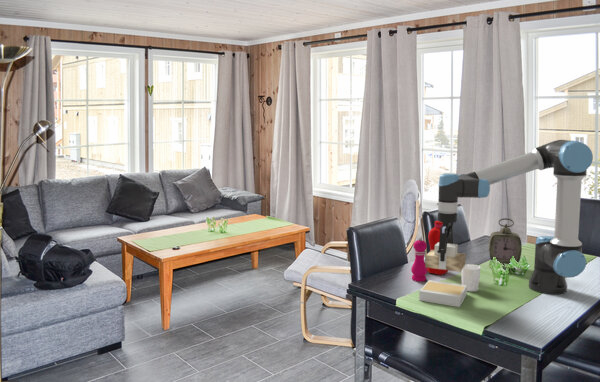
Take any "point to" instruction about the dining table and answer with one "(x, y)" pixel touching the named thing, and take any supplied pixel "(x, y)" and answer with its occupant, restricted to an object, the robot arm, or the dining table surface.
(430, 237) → the water bottle
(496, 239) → the tabletop clock
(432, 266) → the pallet
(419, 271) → the pepper mill
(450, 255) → the white block
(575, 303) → the dining table surface
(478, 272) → the white cup
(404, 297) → the dining table surface
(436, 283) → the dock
